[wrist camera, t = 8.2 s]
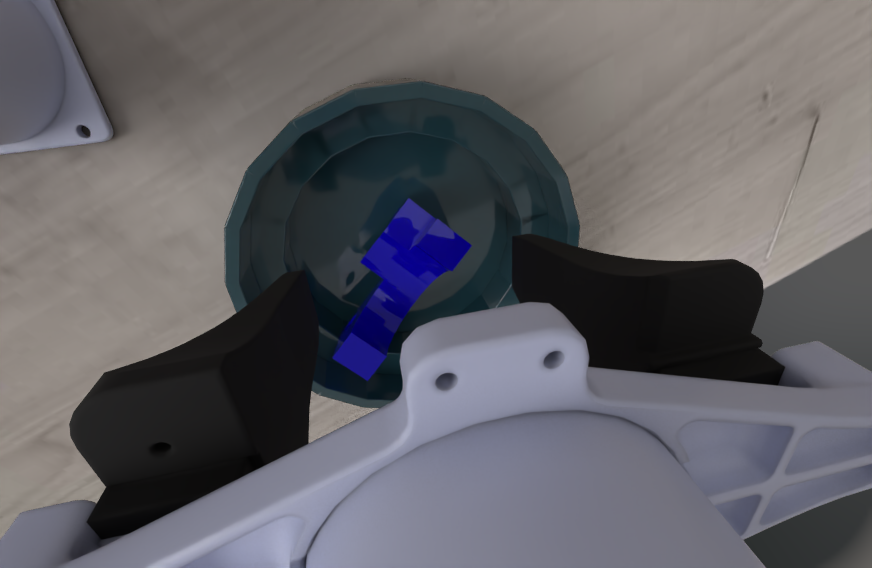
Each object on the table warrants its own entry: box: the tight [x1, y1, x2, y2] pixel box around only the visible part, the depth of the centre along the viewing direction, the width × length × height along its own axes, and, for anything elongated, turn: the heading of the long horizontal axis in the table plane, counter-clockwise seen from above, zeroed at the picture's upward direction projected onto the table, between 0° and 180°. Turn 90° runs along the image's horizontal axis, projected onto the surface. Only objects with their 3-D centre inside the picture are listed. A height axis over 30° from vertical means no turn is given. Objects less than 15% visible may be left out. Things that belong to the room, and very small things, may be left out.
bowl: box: [224, 78, 580, 408], centre depth 21 cm, size 16×16×5 cm
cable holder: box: [332, 198, 472, 381], centre depth 20 cm, size 8×4×4 cm, turn 140°
